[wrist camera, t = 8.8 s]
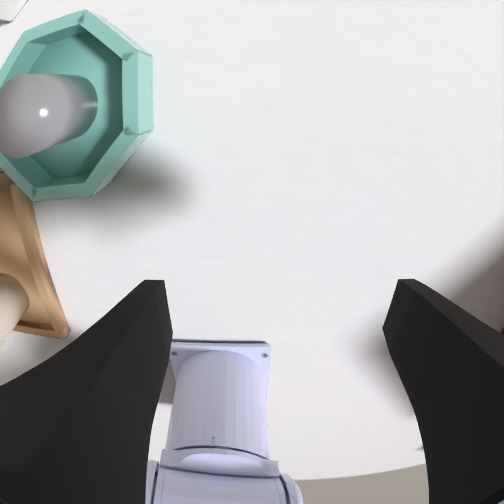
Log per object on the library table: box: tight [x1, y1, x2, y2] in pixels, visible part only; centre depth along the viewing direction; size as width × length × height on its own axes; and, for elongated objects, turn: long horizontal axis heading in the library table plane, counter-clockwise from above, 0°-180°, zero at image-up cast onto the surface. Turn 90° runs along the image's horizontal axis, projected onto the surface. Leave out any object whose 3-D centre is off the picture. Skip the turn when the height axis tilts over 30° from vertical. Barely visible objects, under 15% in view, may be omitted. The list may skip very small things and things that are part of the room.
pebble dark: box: [0, 74, 98, 158], centre depth 12 cm, size 4×4×5 cm
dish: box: [0, 10, 153, 202], centre depth 13 cm, size 10×10×3 cm
